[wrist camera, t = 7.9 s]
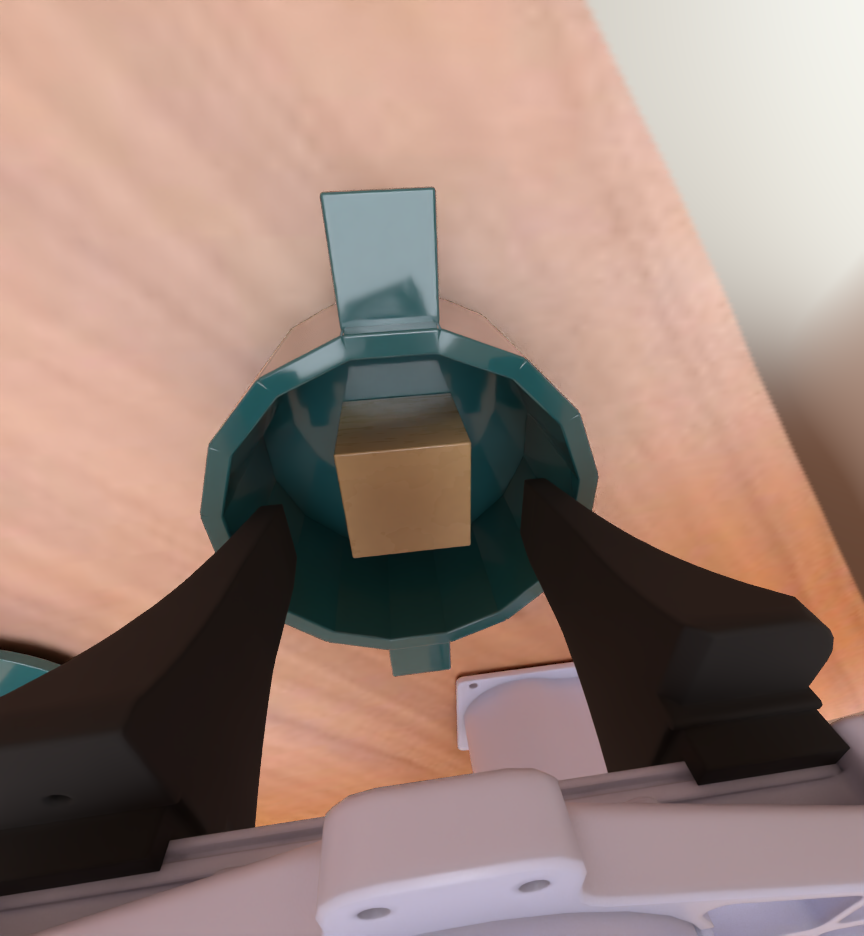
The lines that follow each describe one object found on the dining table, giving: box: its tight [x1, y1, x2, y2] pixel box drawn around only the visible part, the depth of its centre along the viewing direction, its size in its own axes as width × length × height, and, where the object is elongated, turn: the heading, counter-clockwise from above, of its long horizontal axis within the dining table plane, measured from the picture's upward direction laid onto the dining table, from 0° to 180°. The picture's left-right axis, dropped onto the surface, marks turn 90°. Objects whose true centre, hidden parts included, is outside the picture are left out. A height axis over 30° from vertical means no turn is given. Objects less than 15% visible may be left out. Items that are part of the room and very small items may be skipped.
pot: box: [200, 187, 598, 677], centre depth 15 cm, size 11×17×5 cm
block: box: [334, 393, 471, 558], centre depth 15 cm, size 4×4×4 cm
